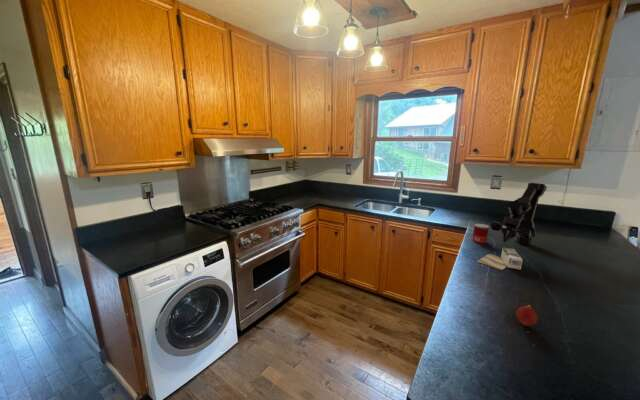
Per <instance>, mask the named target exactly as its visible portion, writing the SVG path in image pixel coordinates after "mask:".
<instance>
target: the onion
mask: <svg viewBox="0 0 640 400" xmlns="http://www.w3.org/2000/svg"><path fill="white" fill-rule="evenodd" d="M515 312H516V315H515V316H516V318H517V320H518V321H519V322H520V323H521V324H522V325H523V326H524V327H527V326H533V325H535V324H536V323H537V321H538V315H537V312H536V310H534V309H533V308H532V307H531V305H530V304H528V305H523V306H520V307H519V308H518V309H517V310H516V311H515Z"/></svg>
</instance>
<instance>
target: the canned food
mask: <svg viewBox="0 0 640 400" xmlns="http://www.w3.org/2000/svg"><path fill="white" fill-rule="evenodd" d="M489 229H490V226H489V225H488V224H485V223H484V224H483V223H475V224H474V226H473V232H472V233H473V234H472V241H473V242H474V243H477V244H486V243H487V241H488V236H489Z"/></svg>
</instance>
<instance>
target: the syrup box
mask: <svg viewBox="0 0 640 400" xmlns="http://www.w3.org/2000/svg"><path fill="white" fill-rule="evenodd" d="M501 250H502V251H501V255H500V257H501V258H502V259H503V260H504V262H505V264H506V265H507V267H506V268H509V269H515V270H522V265H523V258H522V256H520V254H518V253H519V252H517V251H516V249H515V248H508V247H502V249H501Z"/></svg>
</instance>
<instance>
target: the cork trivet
mask: <svg viewBox="0 0 640 400" xmlns="http://www.w3.org/2000/svg"><path fill="white" fill-rule="evenodd" d="M476 262H477V263H480V264H481V263H482V265H484V264H485V266H487V265H488V266H487V267H490V268H493V267H494V268H493V269H495V270H499V271H501V270H502V271H503V270H505V269H507V268H508V267H507V265H506V264H505V262H504V260H503V259H502V257H501V256H497V255H495V254H491V253H488V254H486V255H484V256H483V257H481V258H479V259H478V260H476Z"/></svg>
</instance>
